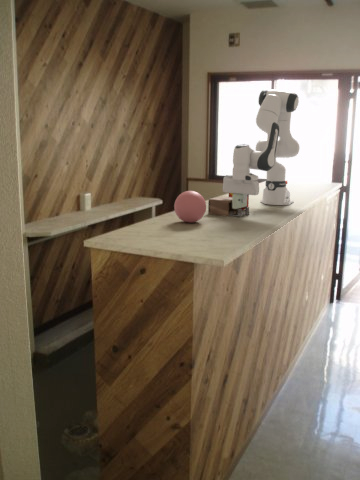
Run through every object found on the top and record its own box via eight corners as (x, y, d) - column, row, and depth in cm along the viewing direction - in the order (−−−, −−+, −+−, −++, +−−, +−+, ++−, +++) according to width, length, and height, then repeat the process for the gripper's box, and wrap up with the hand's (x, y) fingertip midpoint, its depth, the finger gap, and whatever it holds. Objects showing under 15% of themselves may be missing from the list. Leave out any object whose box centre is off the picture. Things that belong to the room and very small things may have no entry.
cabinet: (221, 210, 274) (222, 196, 272) (250, 213, 264) (251, 199, 262) (208, 213, 263) (208, 199, 261) (237, 217, 252) (238, 202, 251)
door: (243, 205, 264) (243, 192, 262) (248, 206, 262) (248, 193, 261) (232, 208, 254) (232, 195, 253) (237, 209, 253) (237, 195, 251)
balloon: (215, 220, 245) (216, 189, 241) (196, 226, 228) (196, 193, 225) (188, 217, 252) (189, 187, 249) (168, 223, 236) (168, 191, 232)
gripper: (220, 175, 258) (219, 201, 261) (255, 177, 247) (254, 204, 250) (226, 174, 263) (225, 200, 266) (261, 176, 252) (259, 203, 255)
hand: (240, 202), depth 258 cm, fingers closed on door, 2 cm apart
